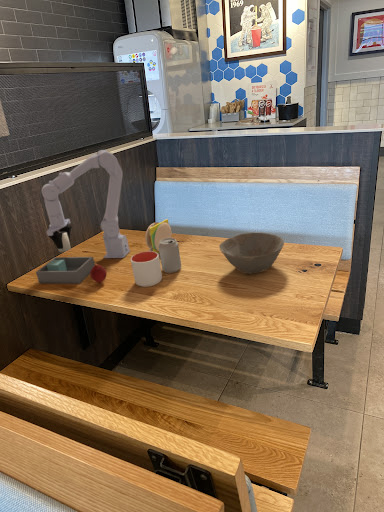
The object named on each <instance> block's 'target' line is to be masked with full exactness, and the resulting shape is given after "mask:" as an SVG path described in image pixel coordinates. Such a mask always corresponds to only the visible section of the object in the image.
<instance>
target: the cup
mask: <svg viewBox="0 0 384 512" xmlns="http://www.w3.org/2000/svg"><path fill="white" fill-rule="evenodd" d="M130 263H131V268H132V274H133V279H134V283H135V284H136V286H139V287H145V288H146V287H147V288H148V287H153V286H155V285H158V284H159V283H160V282H161V281H162V278H163V273H162V266H161V259H160V254H159V253H156V252H153V251H149V250H148V251H147V250H145V251H140V252H138V253H136V254H133V255H132V256H131V257H130Z"/></svg>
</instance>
